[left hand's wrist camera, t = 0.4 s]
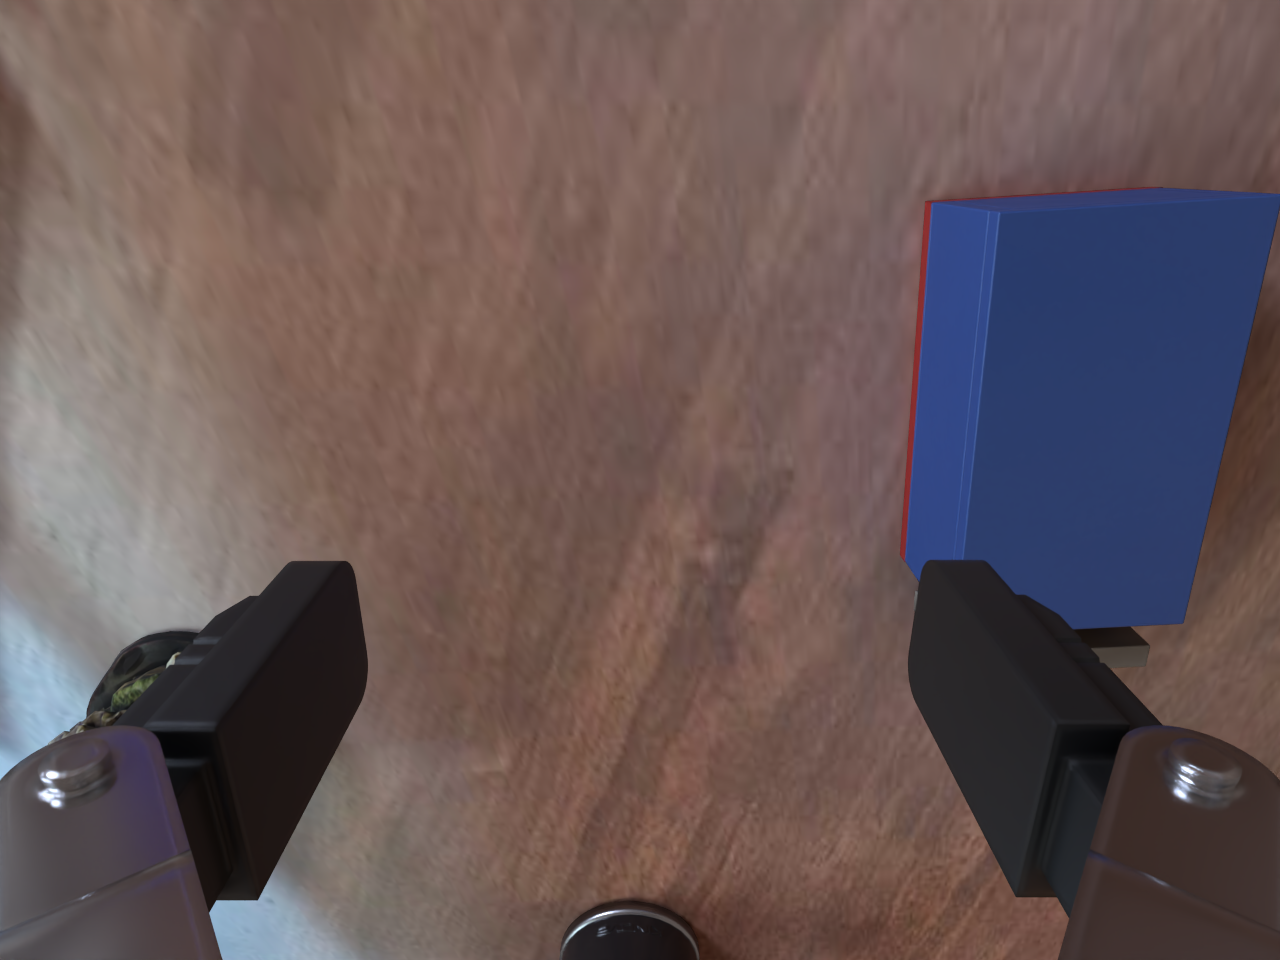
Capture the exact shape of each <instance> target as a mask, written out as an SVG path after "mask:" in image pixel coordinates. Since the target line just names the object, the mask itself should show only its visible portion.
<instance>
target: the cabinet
mask: <svg viewBox="0 0 1280 960" xmlns="http://www.w3.org/2000/svg"><path fill="white" fill-rule="evenodd" d="M1279 209H1280V194H1270V193H1251V192H1232V191H1212V190H1193V189H1174V188H1163V187H1144V188H1128V189H1112V190H1096V191H1080V192H1064V193H1048V194H1033V195H1017V196H1001V197H985V198H969V199H953V200H937V201H925V214H924V228H923V242H922V256H921V270H920V284H919V298H918V312H917V326H916V340H915V354H914V368H913V381H912V395H911V409H910V423H909V437H908V451H907V465H906V479H905V493H904V507H903V521H902V535H901V549H900V555H901V557H902V559H903V560H904V562H906V563H907V564H908V566H909V567H910V569H911V571H912V572H913V574H914V575H915V577H916V578H917V580H918V581H920V575H921V571H922V568H923V566H924V564H925V563H926V562H927V561H928V560H984V561H986V562H988V563H989V564H990V566H991V567H992V568H993V569H994V570H995V571H996V572H997V573H998V575H999V576H1000V577H1001V578H1002V579H1003V580H1004V581H1005V583H1006V584H1007V585H1008V586H1009V587H1010V588H1011V589H1012V591H1013V592H1014V593H1015V594H1016V595H1027V596H1029V597H1030V598H1032V599H1034V600H1035V601H1037V602H1039V603H1040V604H1042V605H1044V606H1045V607H1047V608H1049V609H1051V610H1052V611H1054V612H1056V613H1057V614H1059V615H1060V616H1061V617H1062V618H1063V619H1064V620H1065V621H1066V622H1067V623H1068V625H1069V626H1070V627H1071V628H1072V629H1090V628H1109V627H1129V626H1149V625H1169V624H1183V623H1184V619H1185V615H1186V610H1187V606H1188V602H1189V597H1190V593H1191V589H1192V585H1193V580H1194V576H1195V572H1196V567H1197V563H1198V559H1199V554H1200V550H1201V546H1202V541H1203V537H1204V533H1205V528H1206V524H1207V520H1208V516H1209V511H1210V507H1211V503H1212V498H1213V494H1214V490H1215V485H1216V481H1217V477H1218V472H1219V468H1220V464H1221V459H1222V455H1223V451H1224V446H1225V442H1226V438H1227V434H1228V429H1229V425H1230V421H1231V416H1232V412H1233V408H1234V403H1235V399H1236V395H1237V390H1238V386H1239V382H1240V377H1241V373H1242V369H1243V365H1244V360H1245V356H1246V352H1247V347H1248V343H1249V339H1250V334H1251V330H1252V326H1253V321H1254V317H1255V313H1256V308H1257V304H1258V300H1259V296H1260V291H1261V287H1262V283H1263V278H1264V274H1265V270H1266V265H1267V261H1268V257H1269V252H1270V248H1271V244H1272V239H1273V235H1274V231H1275V226H1276V222H1277V218H1278V214H1279Z"/></svg>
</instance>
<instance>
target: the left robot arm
mask: <svg viewBox="0 0 1280 960" xmlns="http://www.w3.org/2000/svg"><path fill="white" fill-rule="evenodd" d="M367 673H368V658H367V650H366V644H365V637H364V631H363V624H362V617H361V611H360V604H359V597H358V591H357V584H356V578H355V574H354V570H353V568H352V566H351V565H350V563H348V562H347V561H291V562H289V563H288V564H287V565H286V566H285V567H284V568H283V569H282V570H281V572H280V573H279V574H278V575H277V576H276V577H275V578H274V579H273V581H272V582H271V583H270V584H269V585H268V586H267V587H266V588H265V590H264V591H263V592H262V593H261V594H260V595H259V596H249V597H247V598H246V599H244V600H242V601H240V602H239V603H237V604H235V605H234V606H232V607H230V608H229V609H227V610H225V611H223V612H222V613H220V614H218V615H217V616H215V617H214V618H213V619H212V620H211V621H210V623H209V624H208V625H207V626H206V627H205V628H204V629H203V630H202V631H201V632H200V633H199V634H198V635H197V636H196V637H195V638H194V639H193V644H189V645H188V646H187V647H186V648H185V649H184V650H183V651H182V652H181V653H180V654H179V655H178V656H177V657H176V659H175V663H174V665H169V666H168V667H167V668H166V669H165V670H164V671H163V672H162V673H161V674H160V675H159V677H158V678H157V679H156V680H155V681H154V682H153V683H152V684H151V685H150V686H149V687H148V688H147V689H146V690H145V691H144V692H143V693H142V694H141V696H140V697H139V698H138V699H137V700H136V701H135V702H134V703H133V704H132V705H131V706H130V707H129V708H128V709H127V710H126V711H125V712H124V714H123V715H122V716H121V717H120V718H119V719H118V720H117V721H116V722H115V723H114V724H113V725H112V726H107V727H100V728H95V729H91V730H86V731H83V732H80V733H76V734H73V735H70V736H68V737H65V738H63V739H60V740H58V741H56V742H53V743H51V744H49V745H47V746H45V747H43V748H41V749H40V750H38V751H36V752H34V753H32V754H31V755H29V756H28V757H26V758H25V759H23V760H22V761H21V762H19V763H18V764H17V765H16V766H14V767H13V768H12V769H11V770H10V771H9V772H8V773H7V774H6V775H5V776H4V777H3V778H2V779H1V780H0V960H222V957H221V954H220V950H219V947H218V943H217V940H216V936H215V933H214V929H213V926H212V922H211V919H210V915H209V912H210V910H211V909H212V907H213V905H214V903H215V902H216V900H258V899H259V897H260V895H261V893H262V891H263V889H264V887H265V885H266V884H267V882H268V880H269V878H270V876H271V874H272V872H273V870H274V868H275V866H276V864H277V862H278V861H279V859H280V857H281V855H282V853H283V851H284V849H285V847H286V845H287V843H288V841H289V839H290V838H291V836H292V834H293V832H294V830H295V828H296V826H297V824H298V822H299V820H300V818H301V816H302V814H303V813H304V811H305V809H306V807H307V805H308V803H309V801H310V799H311V797H312V795H313V793H314V791H315V790H316V788H317V786H318V784H319V782H320V780H321V778H322V776H323V774H324V772H325V770H326V768H327V767H328V765H329V763H330V761H331V759H332V757H333V755H334V753H335V751H336V749H337V747H338V745H339V744H340V742H341V740H342V738H343V736H344V734H345V732H346V730H347V728H348V726H349V724H350V722H351V721H352V719H353V717H354V715H355V713H356V711H357V709H358V707H359V705H360V703H361V701H362V698H363V695H364V692H365V688H366V682H367ZM908 673H909V682H910V687H911V691H912V694H913V697H914V700H915V702H916V704H917V706H918V708H919V710H920V712H921V714H922V716H923V718H924V720H925V721H926V723H927V725H928V727H929V729H930V731H931V733H932V735H933V737H934V739H935V741H936V743H937V745H938V747H939V749H940V751H941V753H942V754H943V756H944V758H945V760H946V762H947V764H948V766H949V768H950V770H951V772H952V774H953V776H954V778H955V780H956V782H957V784H958V786H959V788H960V789H961V791H962V793H963V795H964V797H965V799H966V801H967V803H968V805H969V807H970V809H971V811H972V813H973V815H974V817H975V819H976V821H977V822H978V824H979V826H980V828H981V830H982V832H983V834H984V836H985V838H986V840H987V842H988V844H989V846H990V848H991V850H992V852H993V854H994V855H995V857H996V859H997V861H998V863H999V865H1000V867H1001V869H1002V871H1003V873H1004V875H1005V877H1006V879H1007V881H1008V883H1009V885H1010V887H1011V888H1012V890H1013V892H1014V894H1015V896H1016V897H1057V898H1058V900H1059V902H1060V903H1061V905H1062V907H1063V909H1064V910H1065V912H1066V914H1067V916H1068V917H1069V922H1068V926H1067V929H1066V933H1065V936H1064V940H1063V943H1062V947H1061V950H1060V954H1059V957H1058V960H1280V780H1279V779H1278V778H1277V777H1276V776H1275V775H1274V774H1273V773H1272V772H1271V771H1270V770H1269V769H1268V768H1267V767H1266V766H1264V765H1263V764H1262V763H1261V762H1259V761H1258V760H1257V759H1255V758H1254V757H1252V756H1251V755H1249V754H1248V753H1246V752H1244V751H1242V750H1240V749H1239V748H1237V747H1235V746H1233V745H1231V744H1229V743H1227V742H1224V741H1222V740H1220V739H1217V738H1215V737H1212V736H1210V735H1207V734H1204V733H1200V732H1197V731H1194V730H1189V729H1185V728H1180V727H1173V726H1163V725H1162V724H1161V723H1160V722H1159V721H1158V720H1157V718H1156V717H1155V716H1154V715H1153V714H1152V713H1151V712H1150V711H1149V710H1148V709H1147V708H1146V707H1145V706H1144V705H1143V704H1142V702H1141V701H1140V700H1139V699H1138V698H1137V697H1136V696H1135V695H1134V694H1133V693H1132V692H1131V691H1130V690H1129V689H1128V688H1127V686H1126V685H1125V684H1124V683H1123V682H1122V681H1121V680H1120V679H1119V678H1118V677H1117V676H1116V675H1115V674H1114V673H1113V672H1112V670H1111V669H1110V668H1109V667H1108V666H1107V665H1106V664H1105V663H1100V660H1099V657H1098V656H1097V654H1096V653H1095V652H1094V651H1093V650H1092V649H1091V648H1090V647H1089V646H1088V645H1087V644H1086V643H1082V642H1081V637H1080V636H1079V635H1078V634H1077V633H1076V632H1075V631H1074V630H1073V629H1072V628H1071V627H1070V626H1069V625H1068V623H1067V622H1066V621H1065V620H1064V619H1063V618H1062V617H1061V616H1060V615H1059V614H1057V613H1056V612H1054V611H1052V610H1051V609H1049V608H1047V607H1045V606H1044V605H1042V604H1040V603H1039V602H1037V601H1035V600H1034V599H1032V598H1030V597H1029V596H1027V595H1016V594H1015V593H1014V592H1013V591H1012V589H1011V588H1010V587H1009V586H1008V585H1007V584H1006V583H1005V581H1004V580H1003V579H1002V578H1001V577H1000V576H999V575H998V573H997V572H996V571H995V570H994V569H993V568H992V567H991V566H990V564H989V563H988V562H986V561H984V560H928V561H927V562H926V563H925V564H924V566H923V568H922V571H921V575H920V581H919V588H918V594H917V601H916V608H915V615H914V621H913V628H912V635H911V642H910V648H909V656H908ZM560 960H699V947H698V941H697V938H696V936H695V934H694V932H693V930H692V929H691V927H690V926H689V925H688V924H687V923H686V922H685V921H684V920H683V919H682V918H681V917H680V916H678V915H677V914H675V913H673V912H672V911H670V910H668V909H665V908H663V907H660V906H657V905H654V904H650V903H644V902H635V901H624V902H614V903H609V904H605V905H601V906H599V907H596V908H593V909H591V910H589V911H587V912H586V913H584V914H582V915H581V916H579V917H578V918H577V919H576V920H575V921H574V922H573V923H572V924H571V925H570V926H569V927H568V929H567V930H566V932H565V934H564V936H563V939H562V943H561V951H560Z"/></svg>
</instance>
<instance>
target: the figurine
mask: <svg viewBox="0 0 1280 960" xmlns="http://www.w3.org/2000/svg"><path fill="white" fill-rule="evenodd" d="M198 634H199V633H193V632H175V631H170V632H165V633H158V634H153V635H148V636H146V637H143V638H141V639H139V640H137V641H136V642H134V643H132V644H131V645H129V646H128V647H126V648H125V649H123V650H122V651H121V652H120V653H119V655H118V656H117V658H116V659H115V661H114V662H113V664H112V665H111V667H110V668H109V670H108V671H107V673H106V674H105V676H104V677H103V679H102V680H101V682H100V683H99V685H98V686H97V688H96V690H95V691H94V693H93V694H92V697H91V699H90V702H89V705H88V708H87V717H86V719H85V720H84V721H82V722H79V723H77V724H76V725H75V726H74V727H73V728H71V729H70V732H68V731H64V732H63V733H61V734H60V735H58V736H57V737H56V738H54V739H53V740H52V741H50V742H49V743H48V745H49V744H51V743H53V742H56V741H58V740H60V739H63V738H65V737H68V736H70V735H73V734H76V733H80V732H83V731H86V730H91V729H95V728H100V727H107V726H112V725H113V724H114V723H115V722H116V721H117V720H118V719H119V718H120V717H121V716H122V715H123V714H124V712H125V711H126V710H127V709H128V708H129V707H130V706H131V705H132V704H133V703H134V702H135V701H136V700H137V699H138V698H139V697H140V696H141V694H142V693H143V692H144V691H145V690H146V689H147V688H148V687H149V686H150V685H151V684H152V683H153V682H154V681H155V680H156V679H157V678H158V677H159V675H160V674H161V673H162V672H163V671H164V670H165V669H166V668H167V667H168V666H169V665H174V663H175V659H176V657H177V656H178V655H179V654H180V653H181V652H182V651H183V650H184V649H185V648H186V647H187V646H188V645H189V644H193V639H194V638H195V637H196V636H197V635H198Z"/></svg>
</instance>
